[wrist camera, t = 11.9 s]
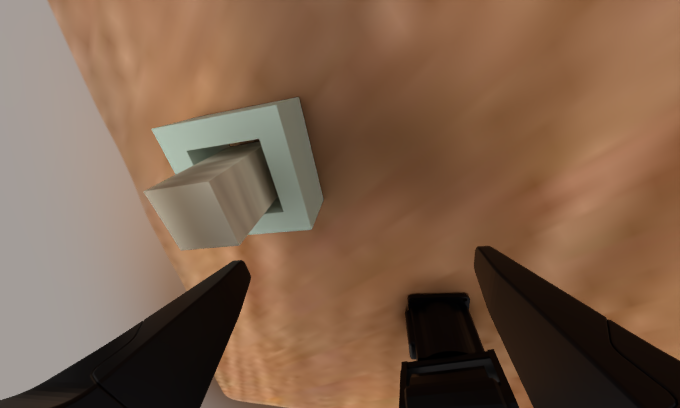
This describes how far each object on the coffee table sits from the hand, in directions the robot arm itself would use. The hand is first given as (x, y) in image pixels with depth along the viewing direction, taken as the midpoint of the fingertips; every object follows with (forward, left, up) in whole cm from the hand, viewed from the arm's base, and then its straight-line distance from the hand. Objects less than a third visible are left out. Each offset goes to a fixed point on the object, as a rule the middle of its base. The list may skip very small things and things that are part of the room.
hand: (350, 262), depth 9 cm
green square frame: (+9, -1, -13) cm, 16 cm away
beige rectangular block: (+9, -1, -13) cm, 16 cm away
